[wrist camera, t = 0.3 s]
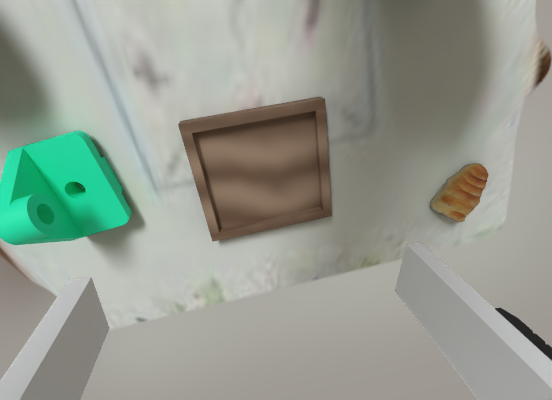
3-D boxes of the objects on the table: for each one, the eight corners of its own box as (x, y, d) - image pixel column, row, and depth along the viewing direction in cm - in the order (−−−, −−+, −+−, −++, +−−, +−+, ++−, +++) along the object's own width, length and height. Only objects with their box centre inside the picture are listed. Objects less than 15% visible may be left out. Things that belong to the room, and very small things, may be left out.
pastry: (460, 154, 44) (480, 162, 41) (488, 169, 46) (510, 178, 43) (423, 206, 47) (439, 217, 44) (452, 218, 49) (469, 229, 46)
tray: (180, 121, 35) (178, 124, 33) (319, 96, 36) (324, 98, 35) (212, 233, 42) (212, 241, 40) (327, 209, 44) (331, 215, 42)
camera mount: (136, 212, 39) (111, 259, 30) (80, 229, 39) (38, 282, 30) (88, 126, 33) (40, 152, 24) (22, 145, 33) (-52, 178, 24)
